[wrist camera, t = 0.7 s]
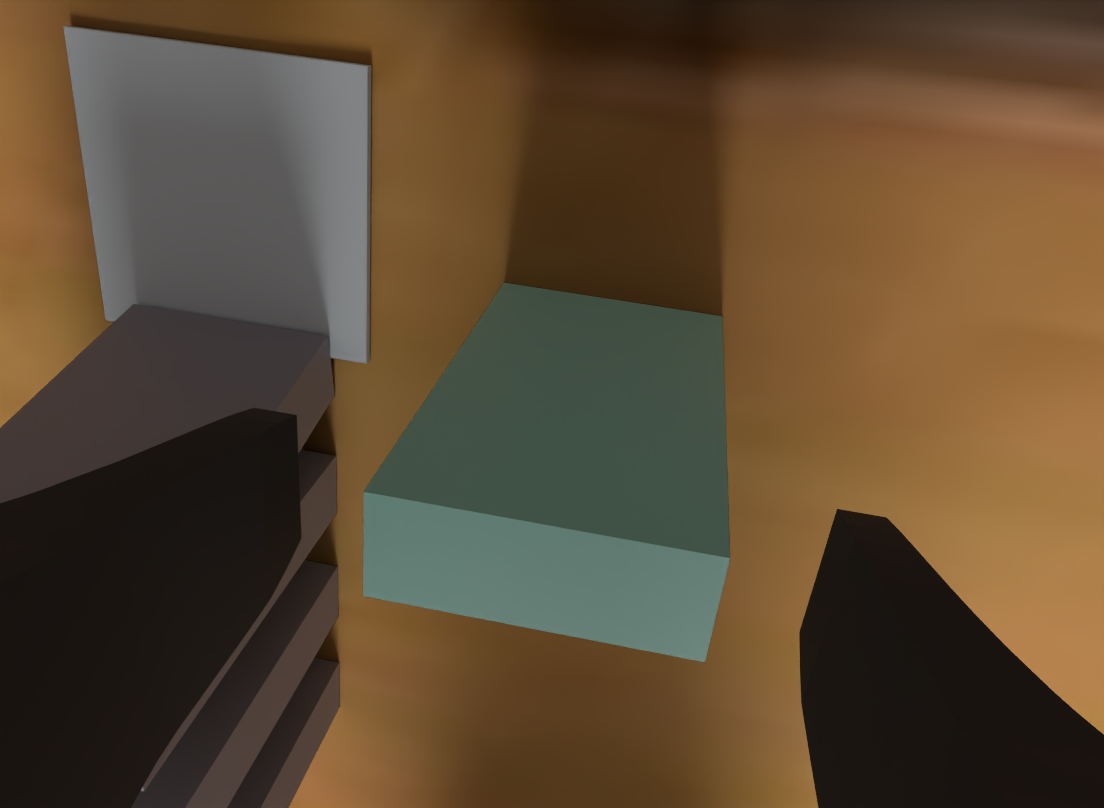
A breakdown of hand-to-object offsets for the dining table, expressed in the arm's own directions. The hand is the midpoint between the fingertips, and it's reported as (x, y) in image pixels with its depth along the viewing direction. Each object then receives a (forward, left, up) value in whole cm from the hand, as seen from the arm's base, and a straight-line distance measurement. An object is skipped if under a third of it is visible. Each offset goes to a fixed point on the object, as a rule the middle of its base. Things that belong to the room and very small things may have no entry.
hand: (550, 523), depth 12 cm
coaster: (+1, +8, -7) cm, 11 cm away
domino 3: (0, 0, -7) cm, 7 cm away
